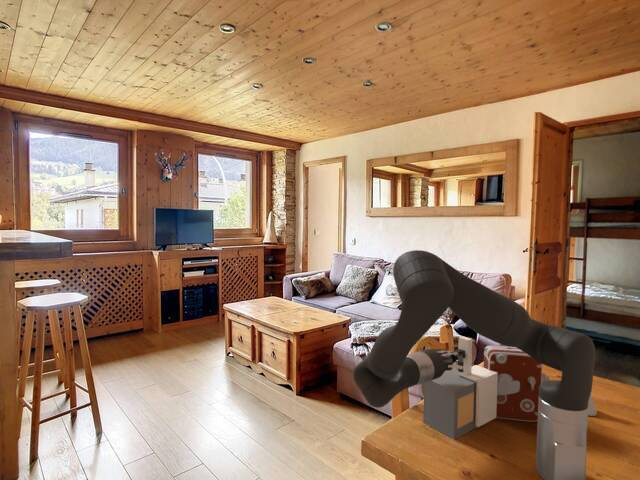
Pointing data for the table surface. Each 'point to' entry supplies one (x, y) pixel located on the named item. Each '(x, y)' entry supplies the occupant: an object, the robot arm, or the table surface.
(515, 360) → the brown boxy piece
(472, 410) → the camera housing
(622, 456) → the table surface
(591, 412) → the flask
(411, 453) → the table surface
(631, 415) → the table surface
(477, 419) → the grooved cream block
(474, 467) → the table surface
